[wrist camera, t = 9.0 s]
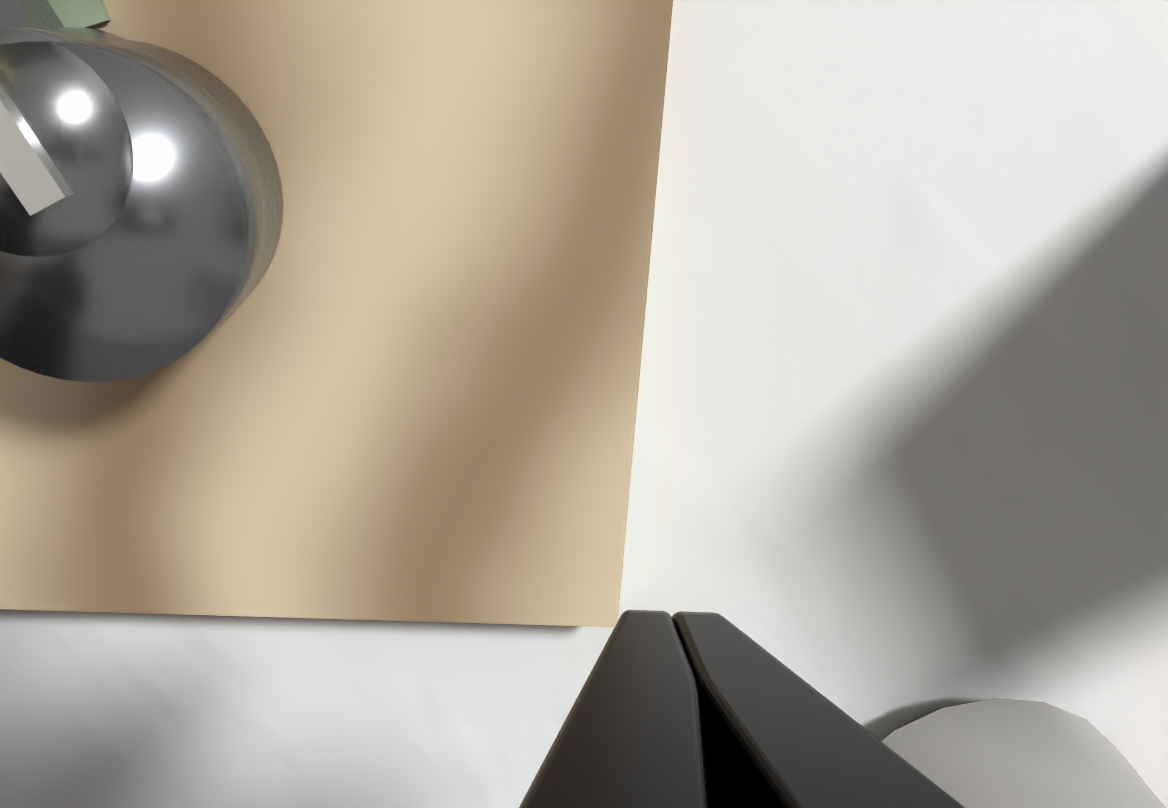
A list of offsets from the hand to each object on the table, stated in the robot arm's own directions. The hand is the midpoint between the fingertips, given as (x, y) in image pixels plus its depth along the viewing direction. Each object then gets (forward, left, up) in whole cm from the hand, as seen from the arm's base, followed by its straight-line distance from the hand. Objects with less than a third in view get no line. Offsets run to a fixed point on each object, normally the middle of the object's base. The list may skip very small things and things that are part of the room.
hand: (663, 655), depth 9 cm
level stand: (-8, +2, -12) cm, 15 cm away
